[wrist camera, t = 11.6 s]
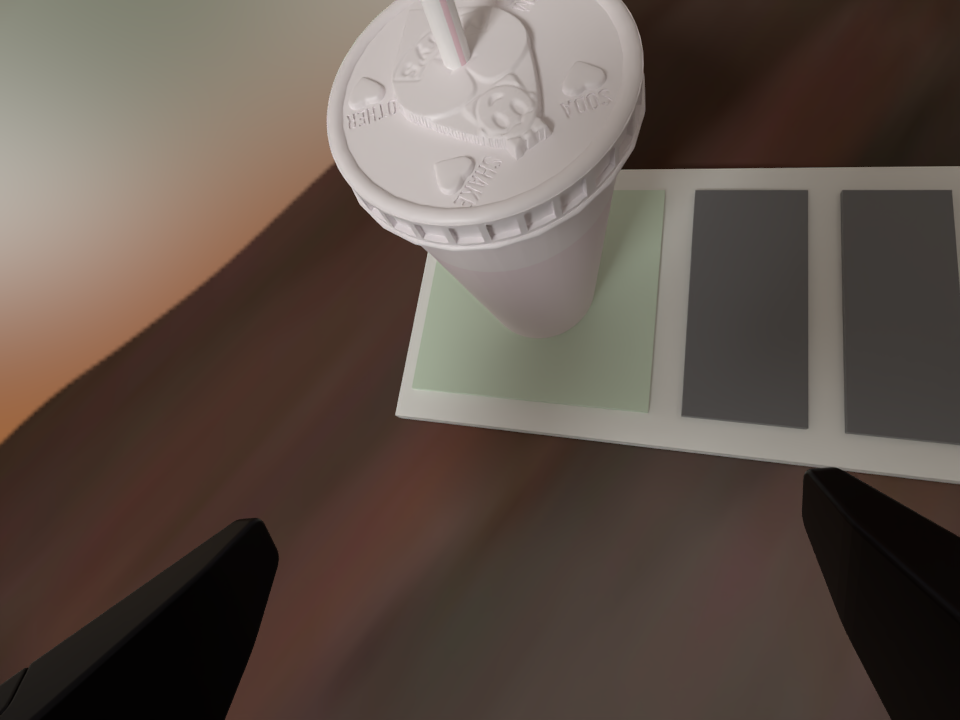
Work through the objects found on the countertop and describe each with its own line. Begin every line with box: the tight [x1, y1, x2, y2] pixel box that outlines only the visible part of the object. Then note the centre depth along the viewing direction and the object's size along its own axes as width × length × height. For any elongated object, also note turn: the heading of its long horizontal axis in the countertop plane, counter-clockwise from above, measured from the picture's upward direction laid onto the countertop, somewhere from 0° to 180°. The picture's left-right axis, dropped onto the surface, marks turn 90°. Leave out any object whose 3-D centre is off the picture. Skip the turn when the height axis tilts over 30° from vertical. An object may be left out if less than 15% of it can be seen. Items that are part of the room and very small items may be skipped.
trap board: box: [395, 166, 960, 484], centre depth 19 cm, size 10×18×1 cm, turn 81°
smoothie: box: [327, 0, 645, 338], centre depth 13 cm, size 6×6×14 cm
